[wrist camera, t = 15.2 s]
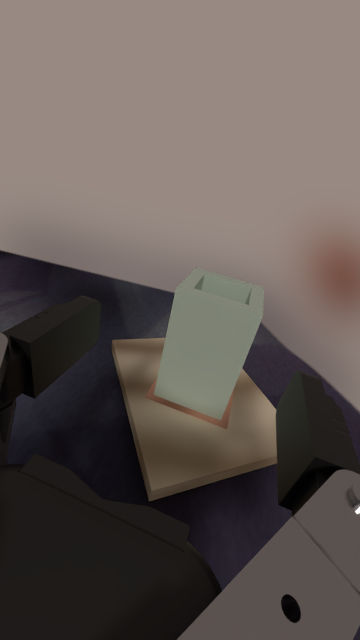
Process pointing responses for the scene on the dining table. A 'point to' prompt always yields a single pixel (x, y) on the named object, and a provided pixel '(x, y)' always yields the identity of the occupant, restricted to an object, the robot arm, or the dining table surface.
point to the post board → (190, 426)
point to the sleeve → (208, 340)
